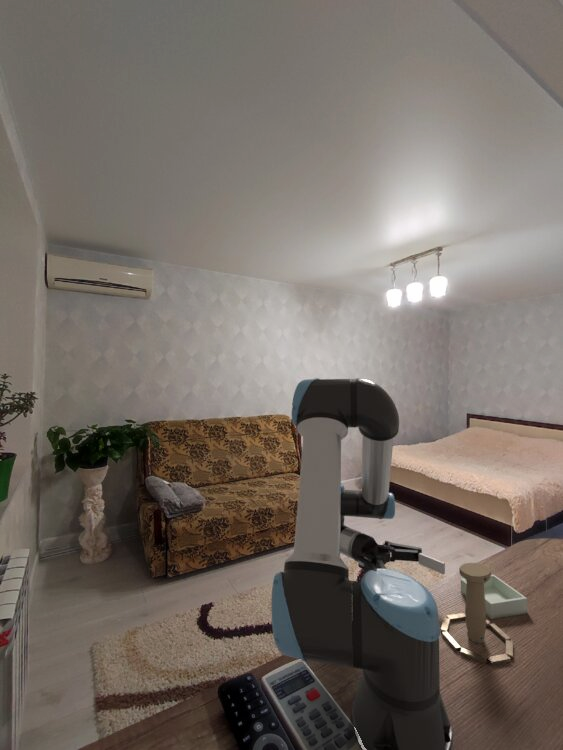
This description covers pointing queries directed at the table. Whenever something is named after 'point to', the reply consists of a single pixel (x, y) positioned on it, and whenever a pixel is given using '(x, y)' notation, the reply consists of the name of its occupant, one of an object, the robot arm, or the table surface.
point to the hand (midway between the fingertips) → (431, 579)
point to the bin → (500, 598)
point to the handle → (475, 599)
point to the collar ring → (471, 655)
